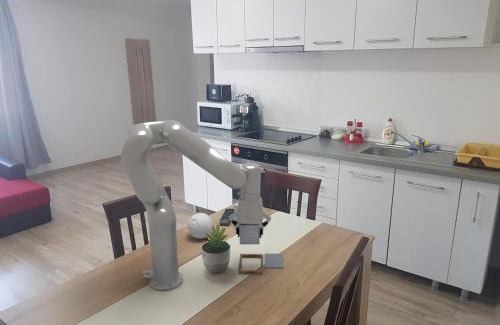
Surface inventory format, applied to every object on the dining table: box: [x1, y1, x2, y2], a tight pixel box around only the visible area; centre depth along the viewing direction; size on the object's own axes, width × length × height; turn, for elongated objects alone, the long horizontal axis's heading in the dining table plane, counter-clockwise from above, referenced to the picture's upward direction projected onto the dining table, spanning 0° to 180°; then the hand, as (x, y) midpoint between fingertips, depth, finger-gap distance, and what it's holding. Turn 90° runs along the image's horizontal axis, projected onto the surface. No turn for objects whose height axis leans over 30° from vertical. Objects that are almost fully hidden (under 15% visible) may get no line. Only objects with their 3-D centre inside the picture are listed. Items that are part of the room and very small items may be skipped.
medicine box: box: [239, 224, 261, 245], centre depth 148 cm, size 8×4×9 cm, turn 88°
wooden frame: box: [237, 253, 264, 276], centre depth 152 cm, size 10×14×2 cm
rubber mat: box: [264, 252, 285, 270], centre depth 155 cm, size 8×11×1 cm
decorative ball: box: [187, 212, 214, 239], centre depth 175 cm, size 12×12×12 cm
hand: (249, 235), depth 148 cm, fingers closed on medicine box, 8 cm apart
